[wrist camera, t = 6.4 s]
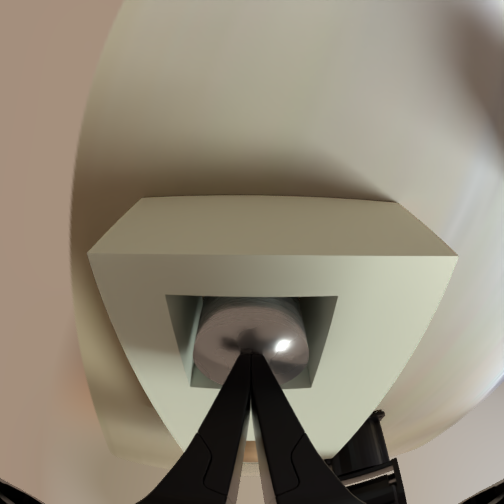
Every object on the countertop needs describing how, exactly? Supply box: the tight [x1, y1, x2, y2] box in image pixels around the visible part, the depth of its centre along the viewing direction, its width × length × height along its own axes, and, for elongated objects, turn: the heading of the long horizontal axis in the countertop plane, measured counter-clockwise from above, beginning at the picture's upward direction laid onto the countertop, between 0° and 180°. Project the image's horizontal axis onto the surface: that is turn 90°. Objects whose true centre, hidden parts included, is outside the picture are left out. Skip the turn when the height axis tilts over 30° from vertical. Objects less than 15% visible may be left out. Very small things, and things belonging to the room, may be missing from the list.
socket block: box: [87, 195, 459, 464], centre depth 14 cm, size 12×20×5 cm, turn 179°
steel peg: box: [193, 296, 309, 385], centre depth 11 cm, size 4×4×5 cm
